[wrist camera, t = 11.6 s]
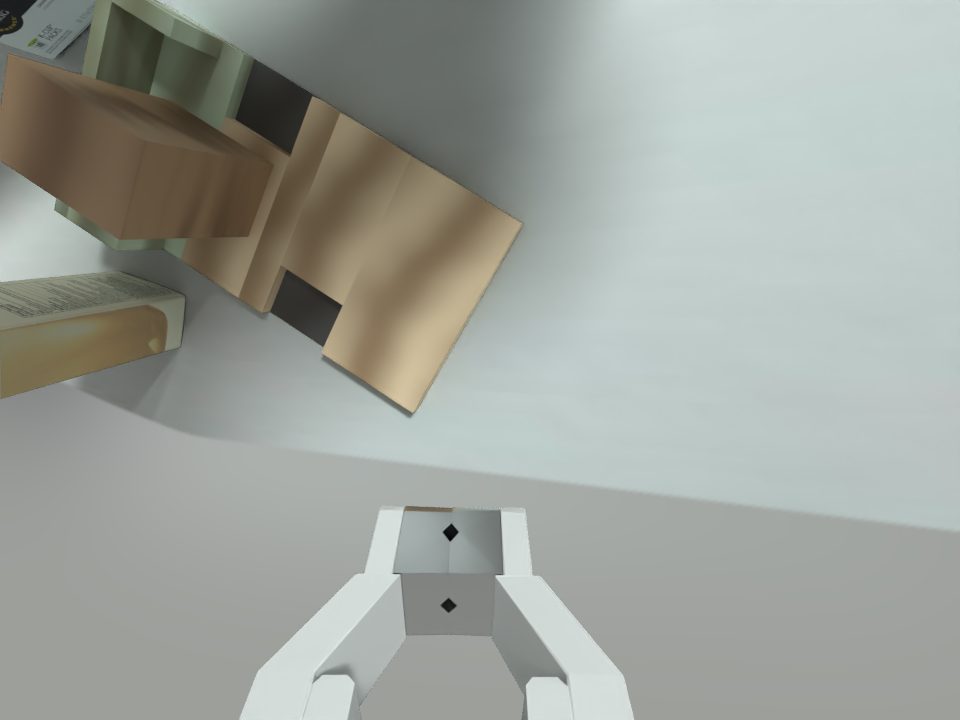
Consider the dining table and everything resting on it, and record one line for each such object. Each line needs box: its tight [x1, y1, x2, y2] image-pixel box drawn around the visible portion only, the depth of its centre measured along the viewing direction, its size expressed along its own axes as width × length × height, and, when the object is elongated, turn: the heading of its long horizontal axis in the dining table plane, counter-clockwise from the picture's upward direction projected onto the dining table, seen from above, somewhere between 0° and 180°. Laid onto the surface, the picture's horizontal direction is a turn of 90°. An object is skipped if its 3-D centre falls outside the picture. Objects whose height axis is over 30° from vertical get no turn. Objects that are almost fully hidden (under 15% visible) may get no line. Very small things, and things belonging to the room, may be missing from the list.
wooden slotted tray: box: [54, 0, 524, 413], centre depth 30 cm, size 26×14×4 cm, turn 60°
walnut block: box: [0, 54, 274, 240], centre depth 27 cm, size 8×5×9 cm, turn 60°
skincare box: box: [0, 271, 185, 399], centre depth 31 cm, size 6×4×12 cm
